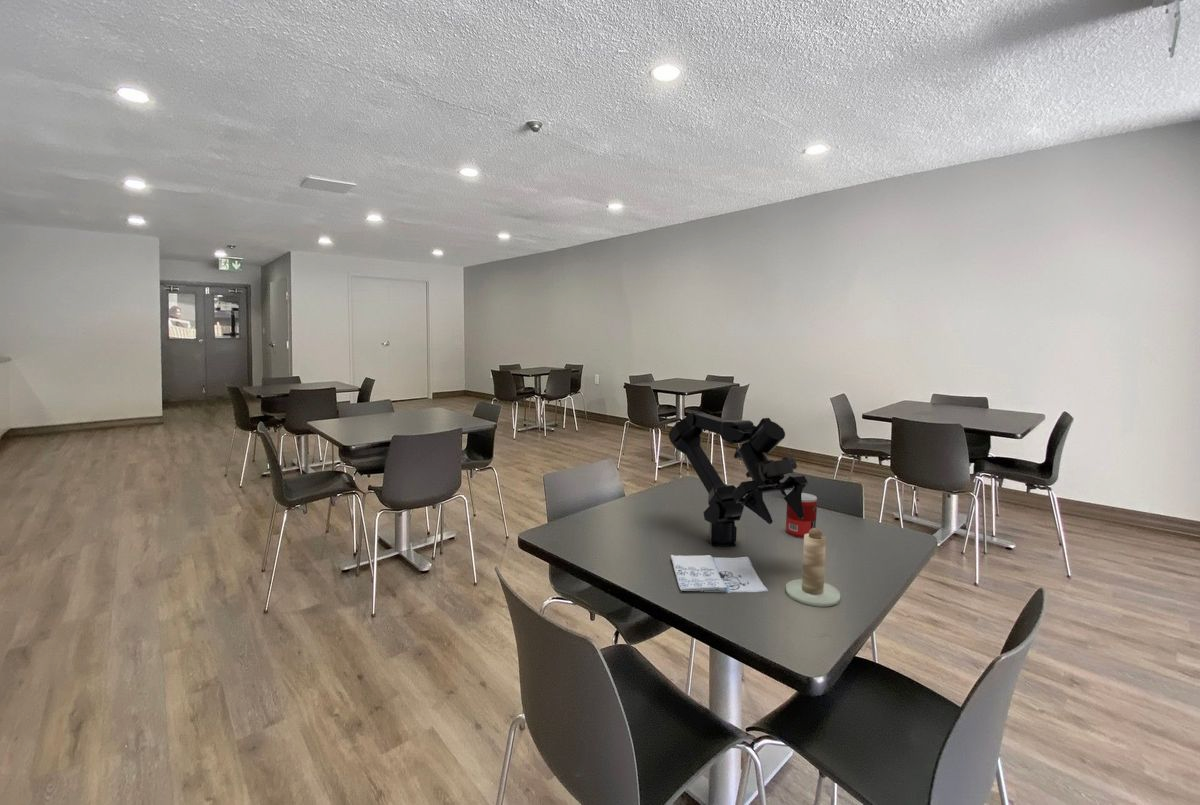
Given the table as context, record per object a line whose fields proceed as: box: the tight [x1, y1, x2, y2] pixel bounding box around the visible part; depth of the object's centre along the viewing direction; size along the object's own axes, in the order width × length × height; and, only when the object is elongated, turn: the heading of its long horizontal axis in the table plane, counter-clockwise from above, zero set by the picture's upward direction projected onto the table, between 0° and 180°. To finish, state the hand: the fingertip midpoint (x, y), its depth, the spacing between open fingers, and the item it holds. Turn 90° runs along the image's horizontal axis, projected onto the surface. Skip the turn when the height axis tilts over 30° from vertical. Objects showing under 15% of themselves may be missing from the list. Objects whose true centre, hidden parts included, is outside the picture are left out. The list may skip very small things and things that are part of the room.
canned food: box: [785, 492, 818, 539], centre depth 154 cm, size 8×8×11 cm
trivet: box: [785, 578, 841, 608], centre depth 117 cm, size 11×11×1 cm
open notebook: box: [670, 554, 769, 594], centre depth 127 cm, size 19×20×2 cm
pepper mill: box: [801, 527, 827, 595], centre depth 117 cm, size 4×4×14 cm
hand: (786, 520), depth 125 cm, fingers open, 9 cm apart
